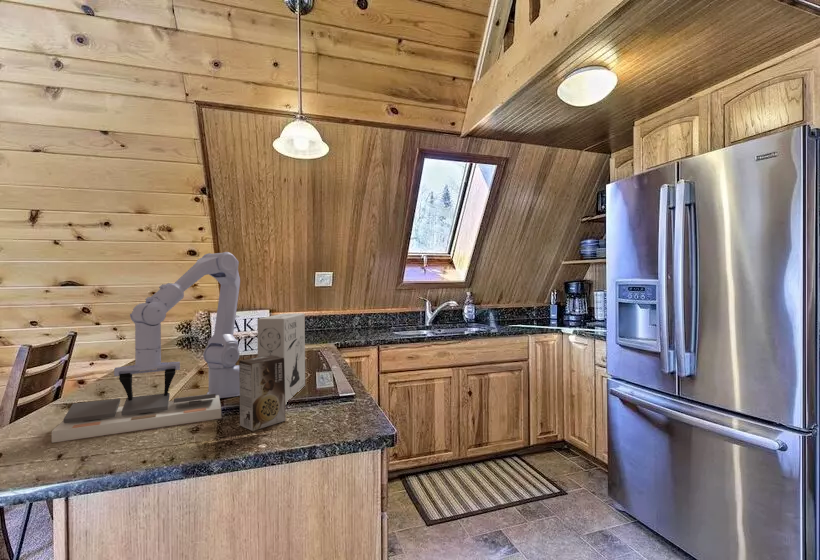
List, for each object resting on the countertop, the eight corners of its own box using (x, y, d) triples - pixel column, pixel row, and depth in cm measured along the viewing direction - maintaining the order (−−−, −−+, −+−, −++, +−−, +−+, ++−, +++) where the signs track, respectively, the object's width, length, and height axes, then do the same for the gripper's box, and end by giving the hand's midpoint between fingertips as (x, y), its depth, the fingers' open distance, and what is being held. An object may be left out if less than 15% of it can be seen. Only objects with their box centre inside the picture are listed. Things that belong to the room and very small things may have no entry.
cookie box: (272, 416, 106) (271, 354, 107) (286, 421, 102) (285, 357, 103) (238, 425, 99) (238, 359, 100) (252, 431, 95) (252, 362, 96)
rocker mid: (169, 396, 110) (169, 392, 110) (167, 409, 103) (167, 406, 103) (126, 401, 106) (126, 397, 105) (121, 415, 99) (121, 411, 98)
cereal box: (284, 407, 115) (283, 318, 115) (257, 407, 115) (257, 318, 115) (305, 387, 136) (304, 313, 137) (283, 388, 136) (282, 313, 137)
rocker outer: (120, 401, 105) (120, 398, 105) (114, 416, 98) (114, 412, 98) (73, 407, 101) (72, 403, 100) (63, 423, 94) (63, 419, 93)
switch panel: (219, 403, 119) (218, 392, 119) (221, 418, 105) (221, 405, 105) (70, 422, 103) (70, 409, 103) (51, 442, 90) (51, 427, 90)
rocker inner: (214, 397, 115) (214, 393, 115) (215, 397, 108) (215, 393, 108) (175, 401, 110) (175, 397, 111) (173, 402, 104) (173, 398, 104)
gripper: (179, 344, 115) (179, 392, 114) (116, 348, 107) (116, 400, 107) (180, 347, 108) (180, 398, 108) (113, 352, 101) (113, 407, 101)
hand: (148, 400), depth 107 cm, fingers open, 7 cm apart
